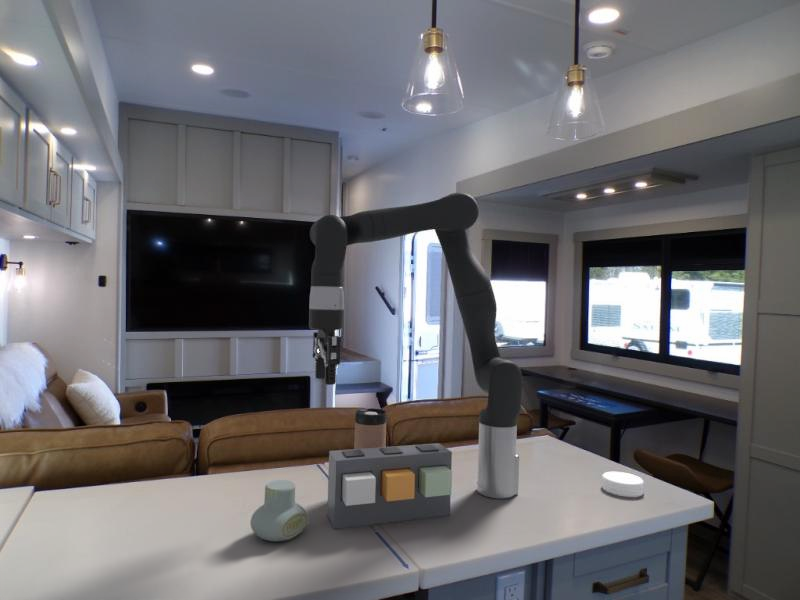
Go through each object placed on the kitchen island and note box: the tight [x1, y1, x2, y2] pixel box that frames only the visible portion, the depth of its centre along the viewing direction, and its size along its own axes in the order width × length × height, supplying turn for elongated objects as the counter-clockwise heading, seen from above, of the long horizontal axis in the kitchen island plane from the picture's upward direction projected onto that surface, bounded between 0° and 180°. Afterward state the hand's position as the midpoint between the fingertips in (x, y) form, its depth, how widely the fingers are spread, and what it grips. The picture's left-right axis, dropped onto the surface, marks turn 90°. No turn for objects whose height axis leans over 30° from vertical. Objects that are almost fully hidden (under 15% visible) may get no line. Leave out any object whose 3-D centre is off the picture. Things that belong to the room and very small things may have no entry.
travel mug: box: [353, 408, 387, 449], centre depth 124 cm, size 8×8×20 cm
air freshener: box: [250, 479, 308, 542], centre depth 102 cm, size 11×8×10 cm
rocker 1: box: [341, 471, 376, 506], centre depth 106 cm, size 6×7×5 cm
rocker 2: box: [418, 465, 453, 497], centre depth 112 cm, size 6×7×5 cm
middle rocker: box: [380, 468, 415, 501], centre depth 109 cm, size 6×7×5 cm
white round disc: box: [601, 471, 645, 498], centre depth 132 cm, size 10×10×4 cm
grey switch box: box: [326, 443, 453, 530], centre depth 112 cm, size 26×7×14 cm, turn 109°
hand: (325, 381), depth 113 cm, fingers open, 8 cm apart
